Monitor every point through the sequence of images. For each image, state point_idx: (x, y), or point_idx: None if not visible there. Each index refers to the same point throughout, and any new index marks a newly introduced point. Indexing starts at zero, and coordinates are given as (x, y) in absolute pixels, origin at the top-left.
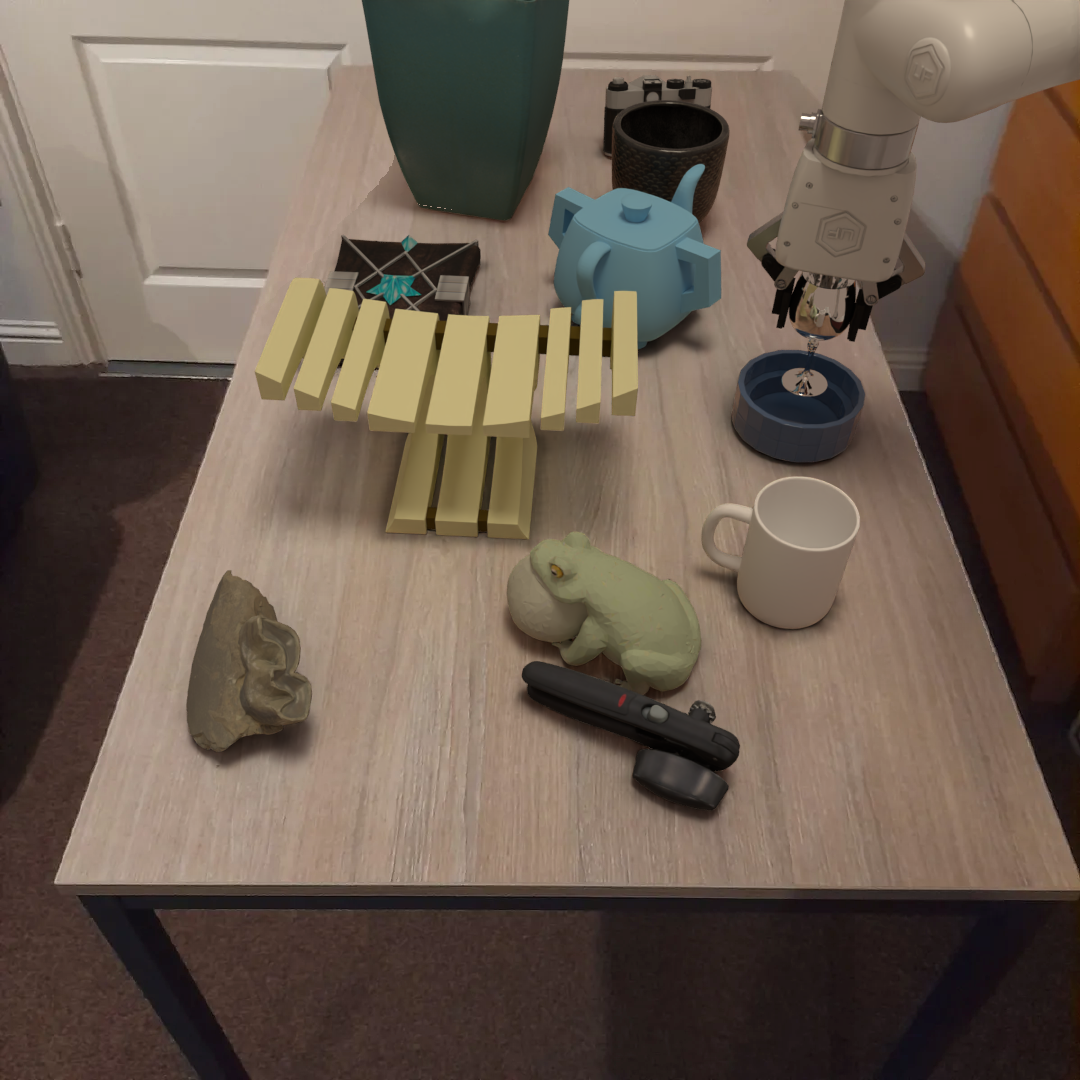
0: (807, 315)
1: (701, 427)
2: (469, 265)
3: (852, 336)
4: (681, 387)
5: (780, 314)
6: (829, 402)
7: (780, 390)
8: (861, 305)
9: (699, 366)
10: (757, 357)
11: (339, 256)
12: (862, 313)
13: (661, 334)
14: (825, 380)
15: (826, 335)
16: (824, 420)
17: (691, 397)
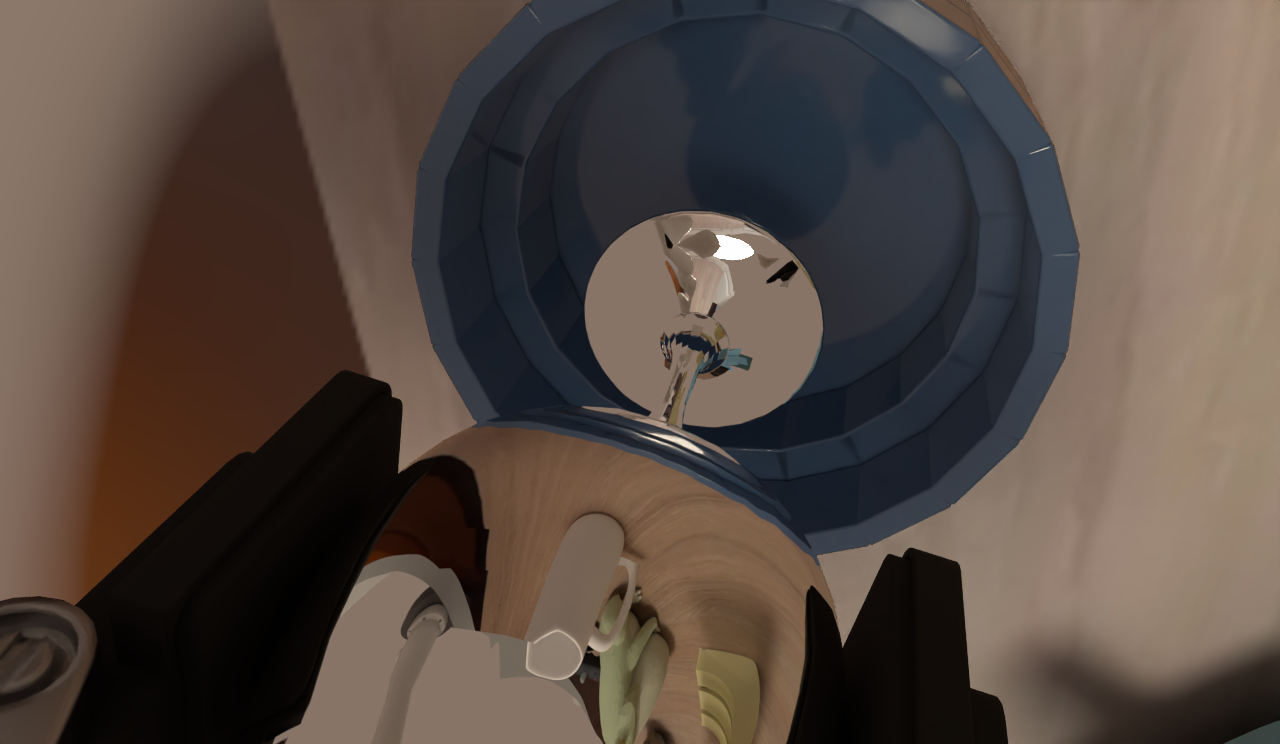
0: (715, 586)
1: (1200, 194)
2: None
3: (348, 398)
4: (1215, 457)
5: (954, 657)
6: (583, 322)
7: None
8: (141, 609)
9: (1087, 569)
10: (908, 521)
11: None
12: (173, 536)
13: (1275, 730)
14: (592, 331)
15: (550, 414)
16: (611, 230)
17: (1185, 395)
